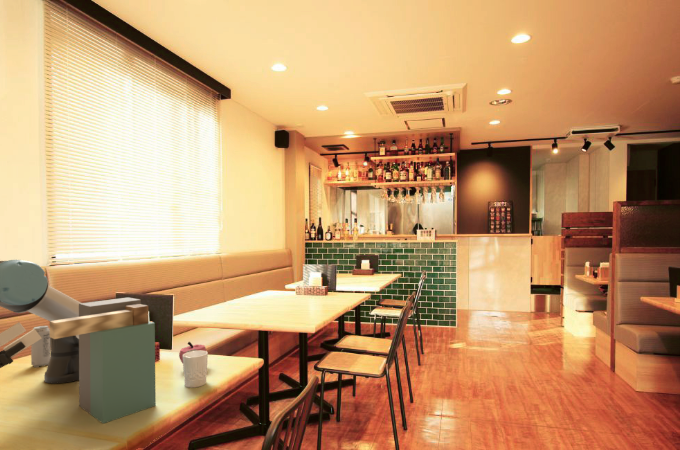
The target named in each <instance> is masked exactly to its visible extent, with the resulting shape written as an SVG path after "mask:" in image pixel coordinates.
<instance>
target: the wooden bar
mask: <svg viewBox="0 0 680 450" xmlns="http://www.w3.org/2000/svg"><path fill="white" fill-rule="evenodd" d="M149 321H150V320H149V305H147V304H142V303H141V304H135V305H128V306H125V310H121V311H115V312H108V313H101V314H95V315H88V316H81V317H74V318H68V319H61V320H54V321H49V329H50V337H51V338H53V339H58V338H63V337H69V336H75V335H80V334H86V333H91V332H97V331H102V330H108V329H113V328H119V327H125V326H130V325H140V324H145V323H149Z"/></svg>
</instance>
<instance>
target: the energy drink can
mask: <svg viewBox="0 0 680 450" xmlns="http://www.w3.org/2000/svg"><path fill="white" fill-rule="evenodd" d="M33 329H35V330H36V331H37V333H38V334H39V335H40V337H41V339H40V340H38V341H37V342H35V343H34V344H32V345H31V346H30V347H31V348H30V352H31V354H30V356H31V357H30V358H31V360H30V361H31V365H32V367H33V366H34V367H33V368H40V367H39V366H43V367H46V366H48V364H49V361H50V357H51V351H50V327H49V325H39V326H34V327H33V328H32V330H33ZM45 365H46V366H45Z"/></svg>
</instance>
